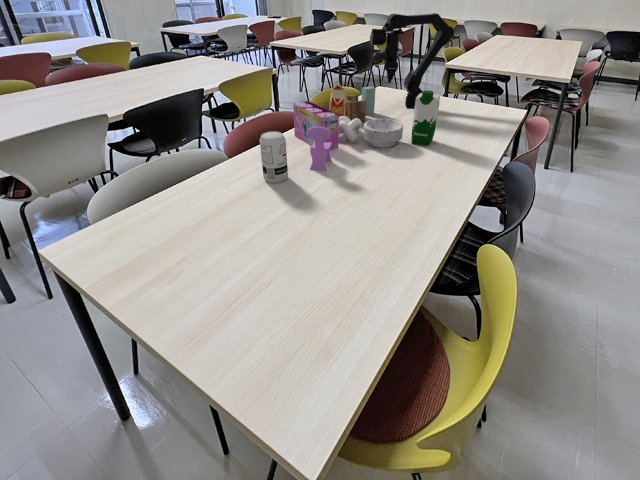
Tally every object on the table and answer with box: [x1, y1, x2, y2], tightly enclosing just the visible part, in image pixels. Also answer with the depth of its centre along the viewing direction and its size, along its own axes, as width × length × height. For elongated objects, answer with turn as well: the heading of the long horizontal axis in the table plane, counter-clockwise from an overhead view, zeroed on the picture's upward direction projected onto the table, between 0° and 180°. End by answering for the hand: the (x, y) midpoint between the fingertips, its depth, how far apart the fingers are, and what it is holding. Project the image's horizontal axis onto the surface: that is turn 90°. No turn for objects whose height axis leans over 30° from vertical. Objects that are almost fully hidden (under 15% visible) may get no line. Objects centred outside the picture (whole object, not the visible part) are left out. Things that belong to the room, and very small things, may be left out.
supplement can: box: [259, 130, 289, 184], centre depth 127 cm, size 8×8×15 cm
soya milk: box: [410, 90, 441, 147], centre depth 151 cm, size 9×9×20 cm
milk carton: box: [328, 81, 349, 133], centre depth 166 cm, size 9×9×20 cm
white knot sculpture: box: [338, 116, 362, 144], centre depth 158 cm, size 11×12×9 cm
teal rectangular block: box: [361, 85, 377, 116], centre depth 186 cm, size 5×4×12 cm
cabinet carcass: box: [347, 94, 367, 123], centre depth 180 cm, size 10×11×10 cm
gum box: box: [292, 100, 340, 152], centre depth 156 cm, size 24×8×14 cm, turn 32°
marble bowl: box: [363, 118, 404, 149], centre depth 154 cm, size 15×15×8 cm
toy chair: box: [308, 126, 333, 172], centre depth 136 cm, size 8×9×15 cm
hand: (388, 80), depth 189 cm, fingers open, 9 cm apart
